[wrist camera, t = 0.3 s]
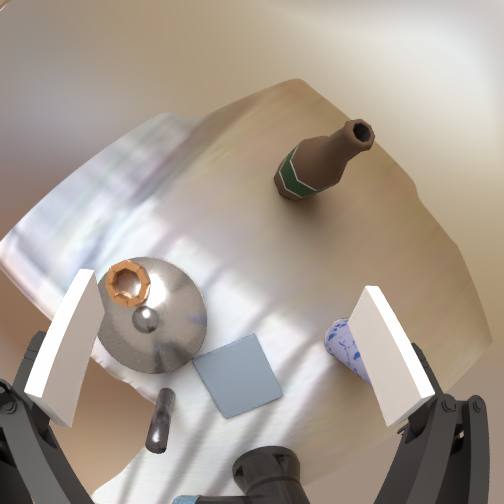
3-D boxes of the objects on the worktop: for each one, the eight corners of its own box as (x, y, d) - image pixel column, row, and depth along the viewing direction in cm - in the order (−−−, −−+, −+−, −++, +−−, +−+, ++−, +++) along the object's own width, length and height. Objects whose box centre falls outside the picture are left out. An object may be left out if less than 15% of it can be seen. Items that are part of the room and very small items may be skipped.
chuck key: (177, 398, 46) (170, 451, 30) (164, 402, 46) (152, 455, 30) (170, 386, 46) (159, 437, 30) (156, 390, 46) (141, 441, 30)
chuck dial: (225, 344, 42) (227, 354, 38) (128, 381, 40) (122, 392, 36) (177, 237, 41) (174, 236, 37) (79, 283, 38) (68, 286, 34)
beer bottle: (263, 177, 48) (313, 120, 24) (294, 151, 49) (358, 89, 25) (292, 210, 49) (364, 183, 25) (322, 184, 50) (403, 144, 26)
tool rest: (281, 392, 49) (283, 395, 48) (225, 415, 48) (226, 419, 47) (254, 333, 48) (255, 335, 47) (192, 358, 47) (192, 361, 45)
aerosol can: (345, 361, 51) (402, 406, 32) (316, 346, 50) (370, 394, 30) (365, 328, 52) (431, 361, 32) (338, 311, 51) (403, 342, 31)
